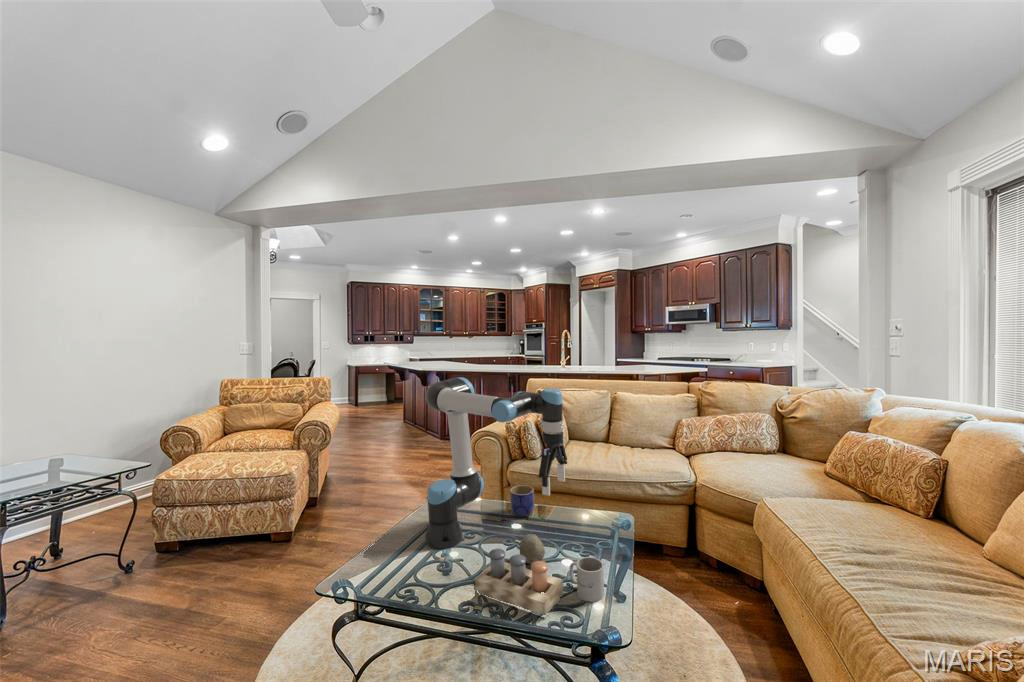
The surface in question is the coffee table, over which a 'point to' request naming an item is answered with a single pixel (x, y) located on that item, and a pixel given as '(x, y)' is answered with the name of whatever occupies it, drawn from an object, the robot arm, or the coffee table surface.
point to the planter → (522, 500)
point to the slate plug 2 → (518, 569)
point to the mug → (589, 578)
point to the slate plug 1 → (497, 562)
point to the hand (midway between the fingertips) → (554, 487)
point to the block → (519, 590)
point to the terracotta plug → (539, 575)
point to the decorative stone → (532, 548)
